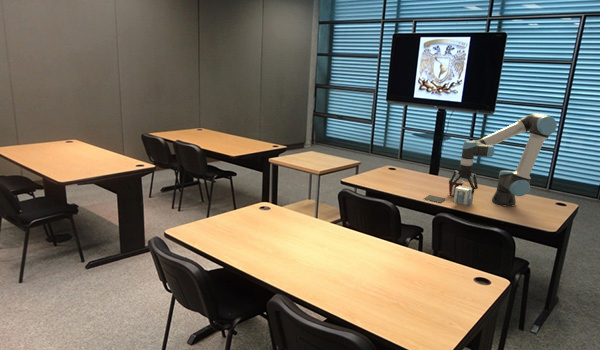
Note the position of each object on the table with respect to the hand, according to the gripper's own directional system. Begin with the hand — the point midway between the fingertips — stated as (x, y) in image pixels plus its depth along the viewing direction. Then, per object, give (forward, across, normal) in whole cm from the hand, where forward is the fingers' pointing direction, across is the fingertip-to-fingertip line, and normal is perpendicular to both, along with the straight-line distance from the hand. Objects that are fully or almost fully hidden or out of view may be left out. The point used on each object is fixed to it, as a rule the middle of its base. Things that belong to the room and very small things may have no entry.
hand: (461, 196), depth 288 cm
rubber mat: (+7, +18, -4) cm, 20 cm away
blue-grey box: (+7, 0, -4) cm, 8 cm away
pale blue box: (+4, 0, 0) cm, 4 cm away
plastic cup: (+7, +10, -22) cm, 26 cm away
